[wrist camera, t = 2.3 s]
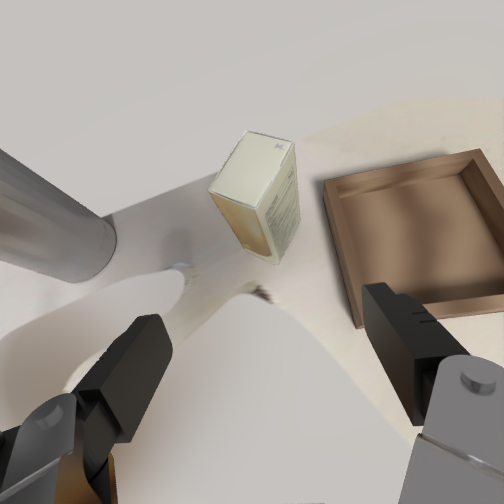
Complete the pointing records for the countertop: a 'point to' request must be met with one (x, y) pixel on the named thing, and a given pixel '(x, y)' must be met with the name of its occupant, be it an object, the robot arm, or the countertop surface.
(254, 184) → the skincare box
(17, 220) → the robot arm
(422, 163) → the walnut tray
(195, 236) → the countertop surface
